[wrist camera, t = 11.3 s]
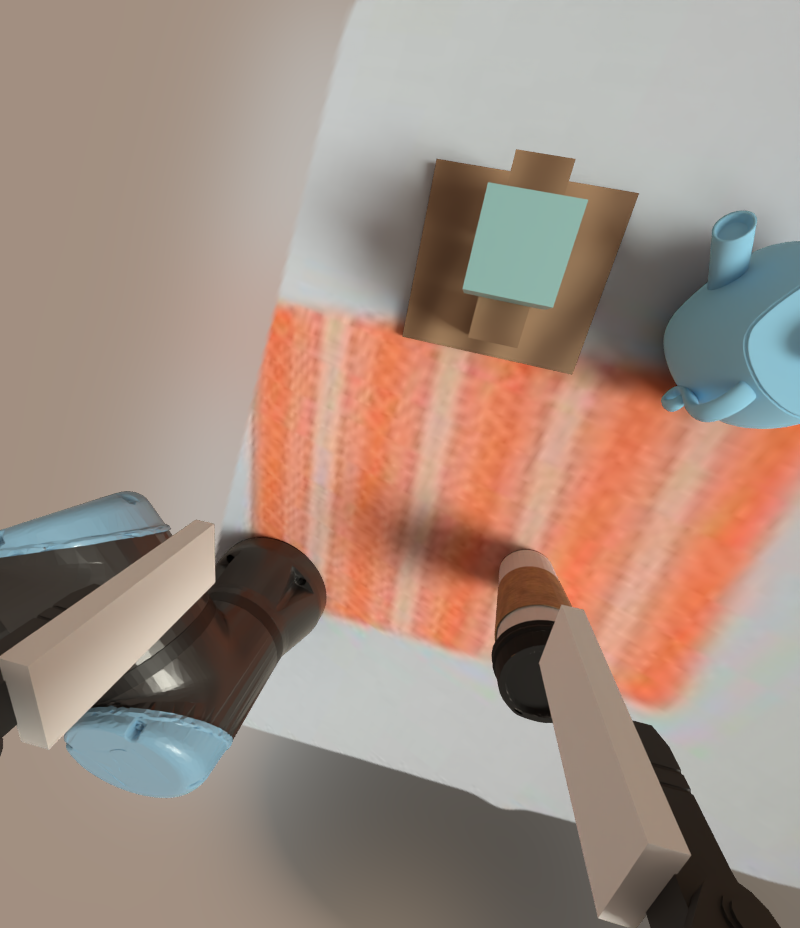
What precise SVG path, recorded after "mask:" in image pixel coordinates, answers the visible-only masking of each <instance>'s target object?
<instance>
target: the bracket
mask: <svg viewBox="0 0 800 928" xmlns="http://www.w3.org/2000/svg"><path fill="white" fill-rule="evenodd" d="M574 162H575V159H572V158H566V157H560V156H554V155H548V154H542V153H535V152H529V151H523V150H517V149H516V152H515V156H514V160H513V164H512V168H511V171H505V170H499V169H493V168H487V167H482V166H476V165H470V164H464V163H458V162H452V161H446V160H441V159H437V160H436V165H435V171H434V176H433V181H432V186H431V191H430V196H429V202H428V207H427V212H426V217H425V222H424V227H423V233H422V238H421V243H420V248H419V253H418V258H417V264H416V269H415V274H414V279H413V284H412V289H411V295H410V300H409V305H408V310H407V315H406V320H405V326H404V331H403V337H407V338H412V339H416V340H421V341H425V342H429V343H434V344H438V345H443V346H447V347H452V348H456V349H461V350H465V351H469V352H474V353H478V354H483V355H487V356H492V357H496V358H501V359H505V360H509V361H514V362H518V363H523V364H527V365H532V366H536V367H540V368H545V369H549V370H554V371H558V372H563V373H567V374H573V371H574V368H575V366H576V363H577V360H578V358H579V355H580V352H581V349H582V347H583V344H584V341H585V339H586V336H587V333H588V330H589V328H590V325H591V322H592V320H593V317H594V314H595V311H596V309H597V306H598V303H599V301H600V298H601V295H602V292H603V290H604V287H605V284H606V282H607V279H608V276H609V274H610V271H611V268H612V265H613V263H614V260H615V257H616V255H617V252H618V249H619V246H620V244H621V241H622V238H623V236H624V233H625V230H626V227H627V225H628V222H629V219H630V217H631V214H632V211H633V208H634V206H635V203H636V200H637V198H638V195H639V193H634V192H628V191H622V190H617V189H611V188H605V187H599V186H593V185H587V184H581V183H575V182H570V181H569V179H570V175H571V172H572V169H573V166H574ZM488 182H490V183H496V184H501V185H507V186H513V187H519V188H524V189H530V190H536V191H541V192H547V193H553V194H559V195H564V196H570V197H576V198H581V199H587V200H588V203H587V206H586V209H585V212H584V215H583V218H582V221H581V224H580V227H579V230H578V233H577V236H576V239H575V242H574V245H573V248H572V251H571V254H570V257H569V260H568V264H567V267H566V270H565V273H564V276H563V279H562V282H561V285H560V288H559V291H558V294H557V297H556V300H555V303H554V306H553V308H550V309H546V310H543V309H538V308H533V307H528V306H523V305H519V304H514V303H509V302H504V301H499V300H495V299H490V298H485V297H480V296H475V295H471V294H466V293H464V291H463V285H464V281H465V276H466V272H467V268H468V264H469V260H470V256H471V251H472V247H473V243H474V239H475V235H476V231H477V226H478V222H479V218H480V214H481V210H482V206H483V201H484V197H485V193H486V189H487V185H488Z"/></svg>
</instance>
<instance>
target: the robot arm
mask: <svg viewBox="0 0 800 928" xmlns="http://www.w3.org/2000/svg"><path fill="white" fill-rule="evenodd" d="M170 529H171V528H170V526H169V525H167V524H165V523H164V522H163V520H162V519H161V518H160V516H159V515H158V513H157V512H156V511H155V509H154V508H153V506H152V505H151V503H150V502H149V501H148V500H147V499H146V498H145V497H144V496H143V495H141V494H139V493H136V492H130V491H125V492H119V493H115V494H112V495H109V496H105V497H102V498H99V499H96V500H93V501H90V502H87V503H83V504H80V505H77V506H74V507H71V508H68V509H64V510H61V511H58V512H55V513H52V514H49V515H46V516H43V517H40V518H37V519H33V520H30V521H27V522H24V523H21V524H18V525H15V526H12V527H9V528H6V529H3V530H0V755H1V752H2V749H3V738H2V737H3V736H4V735H6V734H7V733H8V732H9V731H10V730H11V729H12V728H13V727H15V726H16V725H17V729H18V732H19V735H20V739H21V741H22V742H25V743H28V744H31V745H35V746H38V747H41V748H45V749H48V750H49V749H50V748H51V747H52V746H53V745H54V744H55V743H56V742H57V741H58V740H59V739H60V738H61V737H62V736H63V735H64V741H65V742H66V744H67V745H66V748H67V750H68V752H69V753H70V755H71V756H72V757H73V758H74V759H75V760H76V761H77V762H78V763H79V764H80V765H81V766H82V767H84V768H85V769H86V770H87V771H89V772H90V773H92V774H93V775H95V776H97V777H98V778H100V779H102V780H103V781H105V782H107V783H109V784H111V785H114V786H116V787H118V788H121V789H123V790H126V791H129V792H132V793H136V794H139V795H144V796H150V797H157V798H158V797H159V798H172V797H178V796H182V795H185V794H188V793H190V792H192V791H193V790H195V789H197V788H198V787H199V786H200V785H201V784H202V783H203V782H204V781H205V780H206V779H207V777H208V776H209V774H210V773H211V771H212V770H213V769H214V767H215V766H216V764H217V762H218V761H219V760H220V758H221V757H222V755H223V754H224V752H225V751H226V750H228V749H229V747H230V746H231V744H232V742H233V739H234V737H235V735H236V734H237V732H238V730H239V729H240V727H241V725H242V723H243V722H244V720H245V718H246V716H247V715H248V713H249V711H250V710H251V708H252V706H253V704H254V703H255V701H256V699H257V697H258V696H259V694H260V692H261V691H262V689H263V687H264V685H265V684H266V682H267V680H268V679H269V677H270V675H271V673H272V672H273V670H274V668H275V666H276V665H277V663H278V661H279V660H280V658H281V657H282V656H283V655H284V654H285V653H286V652H288V651H289V650H290V649H291V648H292V647H294V646H295V645H296V644H297V643H298V642H299V641H301V640H302V639H303V638H304V637H305V636H307V635H308V634H309V633H310V632H311V631H312V630H313V628H314V627H315V626H316V624H317V622H318V620H319V619H320V617H321V615H322V613H323V611H324V608H325V605H326V589H325V585H324V582H323V579H322V577H321V575H320V573H319V572H318V570H317V568H316V567H315V566H314V564H313V563H312V562H311V561H310V560H309V559H308V558H307V557H306V556H305V555H304V554H303V553H301V552H300V551H299V550H297V549H296V548H294V547H292V546H290V545H288V544H286V543H284V542H282V541H279V540H275V539H270V538H251V539H247V540H244V541H241V542H239V543H238V544H236V545H235V546H234V547H232V548H231V549H230V550H229V551H228V552H227V553H226V554H225V555H224V556H223V557H222V558H221V559H220V560H219V562H218V563H217V565H216V567H215V533H214V524H213V523H208V522H204V521H200V520H195V521H193V522H192V523H190V524H189V525H188V526H186V527H185V528H183V529H182V530H181V531H179V532H177V533H176V534H175V535H173V536H172V534H171V533H170V531H169V530H170ZM539 665H540V669H541V673H542V678H543V682H544V686H545V691H546V695H547V699H548V704H549V708H550V712H551V717H552V721H553V725H554V730H555V734H556V738H557V742H558V747H559V751H560V755H561V760H562V764H563V768H564V773H565V777H566V781H567V786H568V790H569V794H570V799H571V803H572V807H573V812H574V816H575V820H576V825H577V829H578V833H579V837H580V842H581V846H582V850H583V855H584V859H585V863H586V868H587V872H588V876H589V881H590V885H591V889H592V894H593V898H594V902H595V907H596V911H597V915H598V918H599V919H603V920H606V921H609V922H612V923H616V924H619V925H622V926H625V927H629V928H637V927H638V925H639V924H640V923H641V922H642V920H643V919H644V918H645V916H646V915H647V918H648V920H649V924H650V927H651V928H781V927H780V926H779V924H778V923H777V922H776V920H775V919H774V917H773V916H772V914H771V913H770V912H769V910H768V909H767V908H766V907H765V906H764V905H763V904H762V903H761V902H760V901H759V900H758V899H757V898H756V897H755V896H754V894H753V893H752V892H750V891H749V890H748V889H746V888H745V887H743V886H742V885H741V884H739V883H738V882H737V880H736V878H735V877H734V875H733V873H732V871H731V869H730V867H729V865H728V863H727V861H726V859H725V857H724V855H723V853H722V851H721V849H720V847H719V845H718V843H717V841H716V839H715V837H714V835H713V833H712V831H711V829H710V827H709V825H708V823H707V821H706V819H705V817H704V815H703V813H702V811H701V809H700V807H699V805H698V803H697V801H696V799H695V797H694V795H692V794H691V789H690V787H689V785H688V783H687V781H686V779H685V777H684V775H682V774H681V769H680V767H679V765H678V763H677V761H676V759H675V757H674V755H673V753H672V751H671V749H670V747H669V746H668V745H667V744H666V742H665V741H664V740H663V739H662V737H661V736H660V735H659V734H658V733H657V731H656V730H655V729H654V728H653V726H652V725H648V724H644V723H640V722H636V721H632V719H631V717H630V714H629V712H628V710H627V708H626V705H625V703H624V701H623V698H622V696H621V694H620V692H619V689H618V687H617V685H616V682H615V680H614V678H613V676H612V673H611V671H610V669H609V666H608V664H607V662H606V660H605V657H604V655H603V653H602V650H601V648H600V646H599V644H598V641H597V639H596V637H595V634H594V632H593V630H592V628H591V625H590V623H589V621H588V618H587V616H586V614H585V612H584V610H583V609H578V608H574V607H570V606H565V605H561V607H560V610H559V612H558V615H557V617H556V620H555V623H554V625H553V628H552V630H551V633H550V636H549V638H548V641H547V643H546V646H545V649H544V651H543V654H542V656H541V659H540V662H539Z"/></svg>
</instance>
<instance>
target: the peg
mask: <svg viewBox="0 0 800 928" xmlns="http://www.w3.org/2000/svg"><path fill="white" fill-rule="evenodd" d="M587 203H588V200H587V199H581V198H576V197H570V196H564V195H559V194H553V193H547V192H541V191H536V190H530V189H524V188H519V187H513V186H507V185H501V184H496V183H490V182H488V185H487V189H486V193H485V197H484V201H483V206H482V210H481V214H480V218H479V222H478V226H477V231H476V235H475V239H474V243H473V247H472V251H471V256H470V260H469V264H468V268H467V272H466V276H465V281H464V285H463V291H464V293H466V294H471V295H475V296H480V297H485V298H490V299H495V300H499V301H504V302H509V303H514V304H519V305H523V306H528V307H533V308H538V309H543V310H546V309H550V308H553V306H554V303H555V300H556V297H557V294H558V291H559V288H560V285H561V282H562V279H563V276H564V273H565V270H566V267H567V264H568V260H569V257H570V254H571V251H572V248H573V245H574V242H575V239H576V236H577V233H578V230H579V227H580V224H581V221H582V218H583V215H584V212H585V209H586V206H587Z"/></svg>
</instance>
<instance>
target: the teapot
mask: <svg viewBox="0 0 800 928" xmlns="http://www.w3.org/2000/svg"><path fill="white" fill-rule="evenodd" d="M756 223H757V218H756V216H755V214H753V213H752V212H749V211H736V212H732V213H729V214H727V215H725V216H724V217H722V218H721V219H719V220H718V221H717V222H716V224H715V225H714V227H713V229H712V239H711V250H710V262H709V273H708V282H707V283H706V284H705V285H704V286H702V287H701V288H700V289H699V290H698V291H697V292H695V293H694V294H693V295H692V296H691V297H690V298H689V299H688V300H687V301H686V302H685V303H684V304H683V305H682V306H681V307H680V308H679V309H678V310H677V311H676V312H675V313H674V315H673V316H672V318H671V319H670V321H669V323H668V325H667V327H666V330H665V334H664V345H663V346H664V353H665V358H666V361H667V365H668V367H669V370H670V373H671V375H672V377H673V379H674V381H675V383H676V384H677V386H675V387H673V388H671V389H670V390H668V391H667V392H666V393H665V394H664V395H663V397H662V399H661V403H662V406H663V407H664V408H665V409H666V410H667V411H670V412H674V411H677V410H679V409H680V408H682V407H683V406H685V408H686V410H687V411H688V413H689V414H690V415H691V416H692V417H693V418H695V419H697V420H699V421H702V422H713V421H718V420H719V421H721V422H724V423H727V424H730V425H734V426H738V427H744V428H757V429H770V428H781V427H787V426H792V425H797V424H800V241H794V242H785V243H780V244H775V245H771V246H768V247H765V248H762V249H759V250H757V251H755V252H753V253H752V254H751V252H752V247H753V241H754V235H755V229H756Z"/></svg>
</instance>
